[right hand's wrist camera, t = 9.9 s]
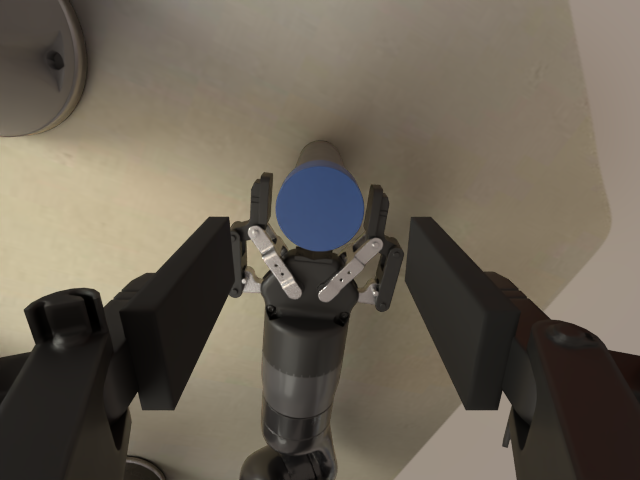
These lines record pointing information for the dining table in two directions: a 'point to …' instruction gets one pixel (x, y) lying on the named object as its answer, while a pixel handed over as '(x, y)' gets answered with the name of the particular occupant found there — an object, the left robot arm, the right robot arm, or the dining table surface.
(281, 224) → the lid
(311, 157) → the grey cylinder
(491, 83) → the dining table surface
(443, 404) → the dining table surface
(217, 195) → the dining table surface
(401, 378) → the dining table surface
